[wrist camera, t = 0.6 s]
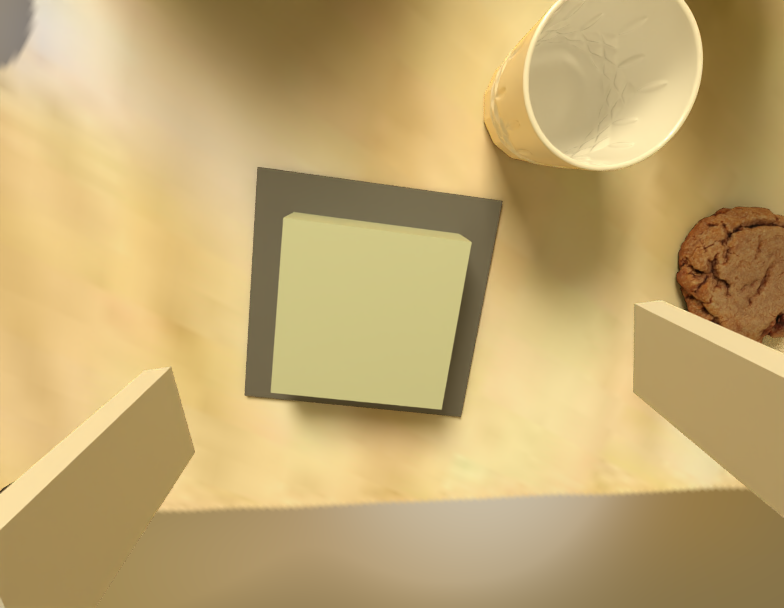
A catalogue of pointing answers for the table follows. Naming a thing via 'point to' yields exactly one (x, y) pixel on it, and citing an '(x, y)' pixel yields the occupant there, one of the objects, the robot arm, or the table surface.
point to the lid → (366, 310)
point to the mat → (369, 204)
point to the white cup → (597, 84)
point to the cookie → (736, 271)
